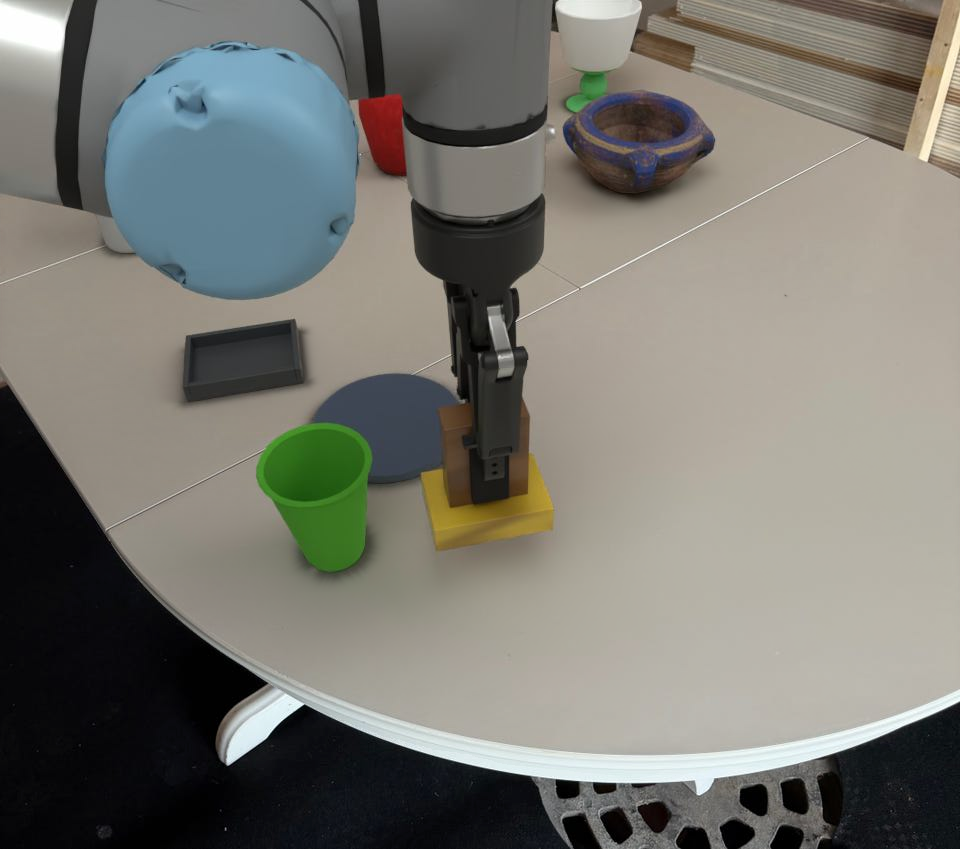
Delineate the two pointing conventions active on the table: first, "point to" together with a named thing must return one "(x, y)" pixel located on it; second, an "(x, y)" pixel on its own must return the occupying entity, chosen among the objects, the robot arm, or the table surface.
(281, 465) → the cup
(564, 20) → the cup
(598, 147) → the bowl
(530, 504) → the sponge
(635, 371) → the table surface
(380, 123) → the apple
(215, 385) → the dish
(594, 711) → the table surface
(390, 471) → the plate
